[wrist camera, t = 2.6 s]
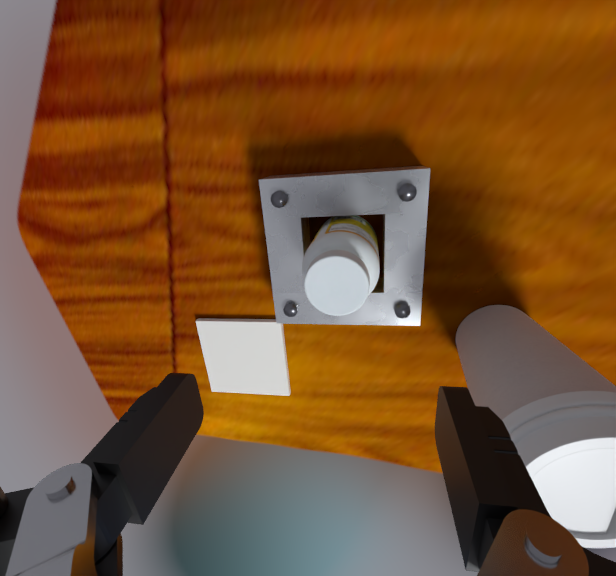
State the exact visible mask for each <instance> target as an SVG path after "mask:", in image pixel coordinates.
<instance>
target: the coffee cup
mask: <svg viewBox="0 0 616 576" xmlns="http://www.w3.org/2000/svg"><path fill="white" fill-rule="evenodd" d="M456 346H457V350H458V353H459V357H460V361H461V364H462V368H463V371H464V375H465V379H466V382H467V386H468V389H469V392H470V394H471V397H472V399H473V401H474V404H475V406H483V407H489V408H490V409H491V410H492V411H493V412H494V413H495V414H496V415H497V416H498V417H499V418H500V419H501V420H502V421H503V422H504V424H505V426H506V428H507V430H508V432H509V434H510V436H511V441H513V442H514V444H515V446H516V448H517V450H518V455H520V457H521V459H522V461H523V463H524V465H525V467H526V469H527V471H528V473H529V475H530V477H531V479H532V481H533V483H534V485H535V487H536V489H537V491H538V493H539V495H540V497H541V499H542V501H543V503H544V505H545V507H546V509H547V511H548V513H549V514H550V516H551V517H552V519H554V520H555V521H557V522H558V523H560V524H561V525H562V526H563V527H565V528H566V529H567V530H568V531H569V532H570V533H571V534H572V535H573V536H574V537H575V539H576V540H577V541H578V542H579V544H580V545H581V546H582V547H585V548H612V547H616V386H615V385H614V384H612V383H611V382H610V381H608V380H607V379H606V378H605V377H603V376H602V375H601V374H600V373H598V372H597V371H596V370H595V369H593V368H592V367H591V366H590V365H588V364H587V363H586V362H585V361H583V360H582V359H581V358H580V357H578V356H577V355H576V354H575V353H574V352H572V351H571V350H570V349H569V348H567V347H566V346H565V345H564V344H562V343H561V342H560V341H559V340H557V339H556V338H555V337H554V336H552V335H551V334H550V333H549V332H547V331H546V330H545V329H544V328H543V327H541V326H540V325H539V324H538V323H536V322H535V321H534V320H533V319H531V318H530V317H529V316H528V315H526V314H525V313H524V312H522V311H521V310H519V309H517V308H515V307H512V306H507V305H491V306H486V307H483V308H480V309H478V310H476V311H474V312H472V313H471V314H469V315H468V316H467V317H466V318H465V319H464V320H463V321H462V322H461V324H460V325H459V327H458V329H457V332H456Z"/></svg>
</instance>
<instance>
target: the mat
mask: <svg viewBox="0 0 616 576" xmlns="http://www.w3.org/2000/svg"><path fill="white" fill-rule="evenodd" d="M196 325H197V330H198V334H199V338H200V343H201V347H202V351H203V355H204V360H205V364H206V368H207V373H208V377H209V381H210V386H211V390H212V392H230V393H248V394H266V395H283V396H290V393H291V390H290V381H289V373H288V364H287V356H286V347H285V339H284V330H283V323H277V322H276V319H216V318H198V319H197V320H196Z"/></svg>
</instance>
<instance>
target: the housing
mask: <svg viewBox="0 0 616 576" xmlns="http://www.w3.org/2000/svg"><path fill="white" fill-rule="evenodd" d="M429 181H430V168H428V167H425V166H408V167H393V168H379V169H364V170H349V171H334V172H319V173H304V174H290V175H275V176H269V177H266V178H262V179H259V186H260V194H261V202H262V210H263V218H264V226H265V234H266V242H267V250H268V258H269V266H270V274H271V282H272V290H273V298H274V306H275V314H276V322H277V323H283V324H345V325H408V326H420V320H421V305H422V289H423V274H424V258H425V243H426V228H427V212H428V197H429ZM373 214H383V250H382V277H379V278H378V282H377V284H376V286H375V288H374V290H373V291H372V292H371V293H370V295H369V296H367V299H366V300H365V302H364V303H363V305H362V306H361V307H360V308H359V309H357V310H356V311H354V312H352V313H350V314H347V315H342V316H333V315H328V314H325V313H323V312H321V311H319V310H318V309H316V308H315V307H314V306H313V305H312V304H311V303H310V301H309V300H308V298H307V296H306V293H305V289H304V279H303V275H302V262H303V258H304V255H305V253H306V251H307V249H308V247H309V246H310V244H311V241H310V227H309V217H326V216H349V215H373Z"/></svg>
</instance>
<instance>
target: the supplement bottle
mask: <svg viewBox="0 0 616 576" xmlns="http://www.w3.org/2000/svg"><path fill="white" fill-rule="evenodd" d="M379 273H380V264H379V252H378V240H377V235H376V233H375V231H374V229H373V227H372V226H371V225H370V224H369V223H368V222H367V221H366V220H365V219H363V218H362V217H360V216H357V215H349V216H333V217H331V218H330V219H328V220H327V221H326V222H325V223H324V224H323V225H322V226H321V227H320V229H319V231H318V232H317V234H316V236H315V237H314V239H313V241H312V242H311V244H310V246H309V247H308V249H307V251H306V253H305V255H304V258H303V262H302V275H303V279H304V289H305V293H306V296H307V298H308V300H309V301H310V303H311V304H312V305H313V306H314V307H315V308H316V309H318V310H319V311H321V312H323V313H325V314H328V315H333V316H342V315H347V314H350V313H352V312H354V311H356V310H357V309H359V308H360V307H361V306H362V305H363V303H364V302H365V300H366V299H367V296H369V295H370V293H371V292H372V291H373V290H374V288H375V286H376V284H377V282H378V278H379Z"/></svg>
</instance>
